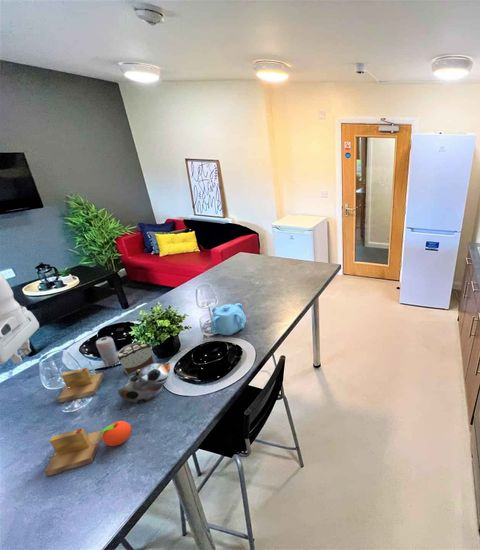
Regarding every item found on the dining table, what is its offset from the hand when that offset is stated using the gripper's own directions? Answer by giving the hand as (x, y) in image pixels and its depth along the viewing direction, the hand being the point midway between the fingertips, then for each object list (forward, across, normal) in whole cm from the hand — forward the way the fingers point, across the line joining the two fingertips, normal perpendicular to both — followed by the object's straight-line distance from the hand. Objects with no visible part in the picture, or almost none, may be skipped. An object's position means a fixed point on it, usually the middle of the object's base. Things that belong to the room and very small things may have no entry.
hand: (23, 357), depth 89 cm
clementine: (+25, +20, +22) cm, 39 cm away
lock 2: (+23, -11, +4) cm, 26 cm away
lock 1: (+23, +20, +12) cm, 33 cm away
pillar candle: (+25, -24, +10) cm, 36 cm away
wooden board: (+25, +20, +12) cm, 34 cm away
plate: (+25, -11, +4) cm, 28 cm away
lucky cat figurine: (+25, -1, +27) cm, 37 cm away
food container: (+25, -18, +20) cm, 37 cm away
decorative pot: (+25, -33, +56) cm, 70 cm away
